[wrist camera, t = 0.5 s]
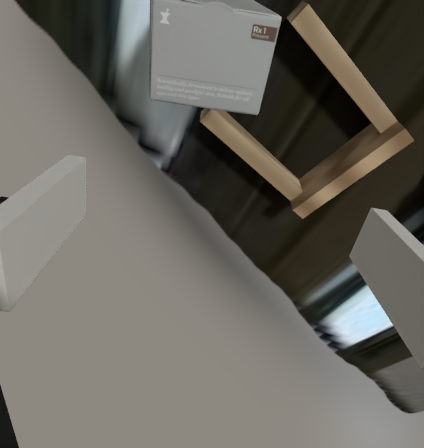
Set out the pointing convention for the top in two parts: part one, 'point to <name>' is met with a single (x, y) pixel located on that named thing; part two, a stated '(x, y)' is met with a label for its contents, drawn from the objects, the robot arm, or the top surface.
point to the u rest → (344, 156)
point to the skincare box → (211, 53)
